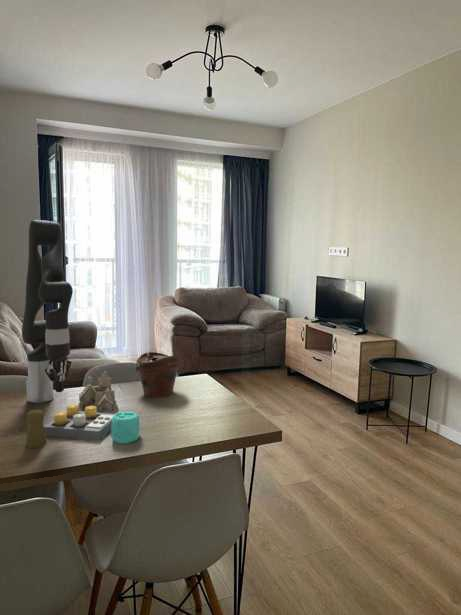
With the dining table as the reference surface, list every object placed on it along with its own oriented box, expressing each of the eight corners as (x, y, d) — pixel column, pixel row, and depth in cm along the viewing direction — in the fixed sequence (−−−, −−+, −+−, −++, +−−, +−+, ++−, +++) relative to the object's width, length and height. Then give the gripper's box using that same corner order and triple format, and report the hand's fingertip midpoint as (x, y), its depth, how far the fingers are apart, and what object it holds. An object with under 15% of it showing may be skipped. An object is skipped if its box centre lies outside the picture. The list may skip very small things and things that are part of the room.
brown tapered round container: (142, 385, 208) (142, 347, 206) (184, 387, 206) (184, 349, 203) (128, 398, 191) (127, 356, 188) (174, 400, 188) (174, 359, 186)
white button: (71, 425, 151) (70, 417, 151) (77, 421, 155) (76, 413, 155) (82, 426, 150) (81, 418, 150) (88, 422, 154) (87, 414, 154)
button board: (43, 435, 151) (43, 424, 151) (68, 418, 167) (68, 408, 166) (99, 440, 148) (98, 429, 147) (119, 422, 163) (119, 412, 163)
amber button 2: (64, 416, 160) (64, 407, 160) (70, 412, 164) (70, 404, 164) (75, 416, 159) (74, 408, 159) (80, 412, 163) (80, 404, 163)
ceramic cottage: (79, 404, 182) (79, 368, 179) (121, 404, 183) (121, 369, 181) (70, 420, 166) (69, 382, 164) (115, 421, 168) (115, 383, 165)
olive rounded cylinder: (30, 440, 147) (28, 407, 146) (49, 439, 148) (47, 407, 146) (23, 448, 141) (21, 414, 140) (43, 447, 142) (41, 414, 140)
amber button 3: (82, 417, 159) (82, 409, 158) (88, 413, 163) (88, 405, 162) (93, 418, 158) (93, 410, 158) (98, 414, 162) (98, 406, 162)
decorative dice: (136, 443, 145) (136, 419, 144) (111, 444, 145) (110, 420, 144) (139, 433, 153) (139, 410, 152) (115, 434, 153) (115, 411, 152)
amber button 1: (52, 424, 152) (51, 415, 152) (58, 420, 156) (58, 411, 156) (62, 425, 152) (62, 416, 151) (69, 421, 155) (68, 412, 155)
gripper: (58, 337, 158) (60, 385, 160) (35, 344, 145) (38, 397, 147) (78, 338, 156) (79, 386, 158) (57, 345, 143) (59, 398, 145)
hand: (59, 391), depth 152 cm, fingers closed
